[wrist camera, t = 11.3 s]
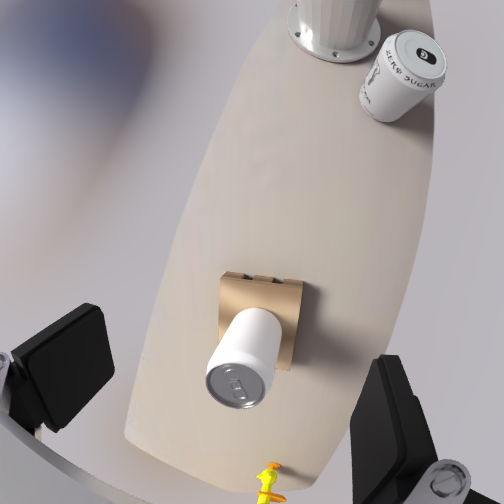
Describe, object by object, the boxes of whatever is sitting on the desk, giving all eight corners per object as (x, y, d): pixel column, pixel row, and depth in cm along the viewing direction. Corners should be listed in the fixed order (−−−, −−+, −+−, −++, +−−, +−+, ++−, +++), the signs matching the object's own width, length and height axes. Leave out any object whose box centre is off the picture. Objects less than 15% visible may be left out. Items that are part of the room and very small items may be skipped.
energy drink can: (363, 73, 29) (392, 13, 15) (406, 92, 28) (455, 45, 14) (352, 112, 31) (380, 64, 16) (396, 131, 30) (449, 98, 16)
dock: (226, 271, 38) (220, 278, 35) (302, 280, 36) (302, 288, 33) (223, 348, 41) (217, 359, 38) (291, 359, 39) (289, 371, 36)
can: (276, 302, 34) (260, 355, 23) (287, 347, 35) (276, 410, 24) (226, 310, 36) (191, 361, 24) (239, 353, 37) (213, 412, 25)
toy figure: (293, 465, 44) (287, 512, 33) (286, 473, 45) (279, 518, 34) (262, 457, 45) (250, 504, 34) (256, 465, 46) (244, 510, 34)
